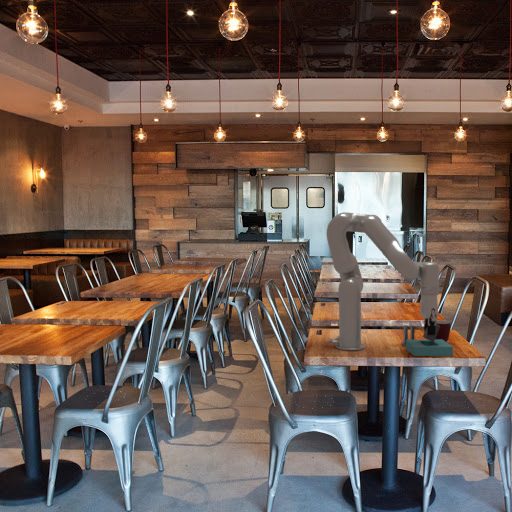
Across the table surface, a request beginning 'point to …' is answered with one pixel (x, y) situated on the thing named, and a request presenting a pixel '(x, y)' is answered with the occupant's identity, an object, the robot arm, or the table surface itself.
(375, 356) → the table surface
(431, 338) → the plug
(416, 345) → the block
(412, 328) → the cable clip
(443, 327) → the mug
